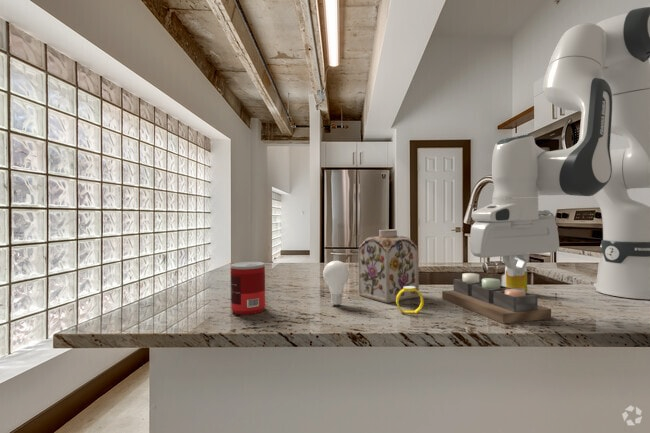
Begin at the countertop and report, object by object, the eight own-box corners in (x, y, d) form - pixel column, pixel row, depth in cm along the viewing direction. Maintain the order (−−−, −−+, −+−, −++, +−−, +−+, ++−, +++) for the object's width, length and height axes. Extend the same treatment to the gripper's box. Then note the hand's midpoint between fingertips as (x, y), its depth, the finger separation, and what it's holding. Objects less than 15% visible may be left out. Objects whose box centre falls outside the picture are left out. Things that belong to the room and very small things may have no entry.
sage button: (492, 290, 91) (492, 277, 91) (504, 293, 87) (504, 280, 87) (478, 291, 90) (478, 278, 90) (489, 294, 86) (489, 281, 86)
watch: (398, 315, 84) (396, 289, 84) (396, 312, 87) (394, 286, 86) (425, 313, 84) (423, 287, 84) (422, 310, 86) (420, 284, 86)
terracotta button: (515, 302, 84) (515, 288, 83) (529, 306, 80) (529, 292, 80) (500, 303, 82) (500, 289, 82) (514, 308, 79) (514, 293, 79)
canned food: (271, 307, 91) (270, 262, 91) (254, 316, 84) (253, 267, 83) (243, 305, 94) (242, 261, 93) (224, 313, 86) (223, 265, 86)
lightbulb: (353, 303, 94) (352, 259, 93) (343, 310, 88) (343, 263, 88) (329, 301, 96) (329, 258, 96) (319, 307, 91) (318, 261, 90)
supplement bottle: (530, 296, 99) (530, 259, 99) (508, 295, 100) (507, 259, 100) (523, 292, 104) (523, 257, 104) (502, 291, 105) (502, 256, 105)
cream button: (472, 284, 98) (472, 272, 98) (482, 287, 94) (482, 275, 94) (459, 285, 97) (459, 273, 97) (468, 288, 93) (468, 276, 93)
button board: (482, 295, 101) (481, 277, 100) (551, 318, 79) (551, 294, 79) (442, 298, 97) (442, 279, 97) (503, 323, 76) (503, 299, 76)
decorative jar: (420, 297, 99) (419, 229, 99) (387, 304, 93) (387, 231, 93) (388, 289, 109) (387, 228, 109) (357, 295, 103) (356, 229, 102)
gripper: (542, 209, 87) (543, 269, 87) (465, 213, 81) (466, 276, 82) (566, 209, 81) (567, 274, 81) (484, 213, 75) (485, 282, 76)
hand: (515, 275), depth 81 cm, fingers closed
